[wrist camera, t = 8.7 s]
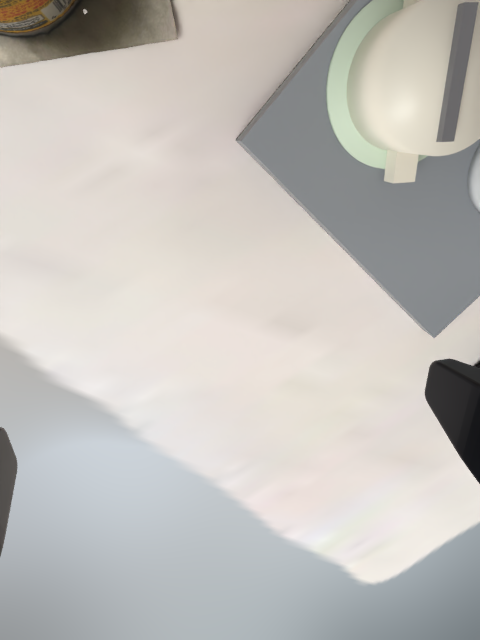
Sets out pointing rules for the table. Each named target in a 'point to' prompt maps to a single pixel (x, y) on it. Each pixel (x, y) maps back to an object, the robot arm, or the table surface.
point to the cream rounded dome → (418, 83)
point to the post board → (372, 181)
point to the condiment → (79, 27)
